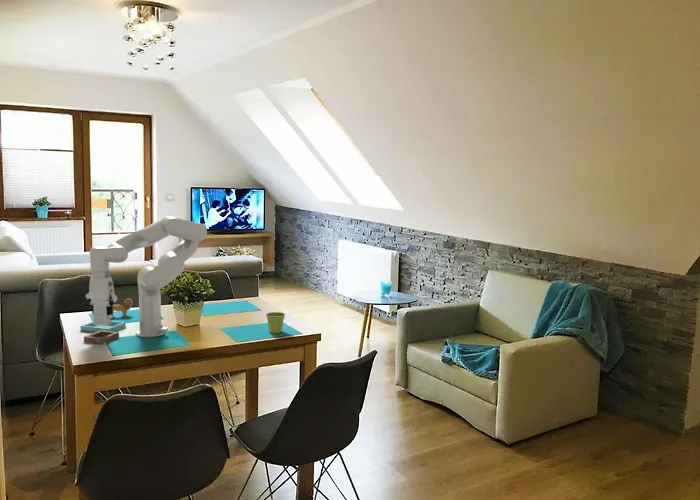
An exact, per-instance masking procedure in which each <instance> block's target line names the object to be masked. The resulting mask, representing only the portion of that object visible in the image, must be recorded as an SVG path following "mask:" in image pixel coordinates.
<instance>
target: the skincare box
mask: <svg viewBox="0 0 700 500" xmlns="http://www.w3.org/2000/svg"><path fill="white" fill-rule="evenodd" d="M93 303H94V314H93V321H94V325H103V326H107V325H109V324H110V321H111V315H107V310H106V307H107V304H106V301H104V300H100V299H95V298H94V299H93ZM109 303H110V302H109Z"/></svg>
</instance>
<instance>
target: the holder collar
mask: <svg viewBox="0 0 700 500" xmlns="http://www.w3.org/2000/svg"><path fill="white" fill-rule="evenodd" d="M119 338H120V332H119V331H115V332H111V331H103V330H101V331H98V332H95V333H91V334H87V335H84V336H83V342H84V343H87V344H96V345H104V343H105V344H107V343H110V342H112V341H114V339H115V340H117V339H119ZM109 341H110V342H109Z"/></svg>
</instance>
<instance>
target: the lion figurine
mask: <svg viewBox="0 0 700 500" xmlns="http://www.w3.org/2000/svg"><path fill="white" fill-rule="evenodd" d="M133 303H134V302H133V299H132V298H125V300H124V301H123V302H121V303H119V304H114V305H112V307H113V314H111V315H110V317H112V319H115V318H116V316H114V313H115V311H116V312H121V313H122V314H121V315H122V317H126V318H127V317H128V315H127V313H128V311H130V310H131V308H132V306H133ZM124 315H125V316H124Z"/></svg>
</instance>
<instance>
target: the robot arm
mask: <svg viewBox="0 0 700 500" xmlns="http://www.w3.org/2000/svg"><path fill="white" fill-rule="evenodd" d="M207 233H208V230H207V228H206V226H205V225H203V224H202V223H199V222H195V221H191V220H186V219H182V218H179V217H176V216H172V215H166V216H163V217H162V218H160V219H158V220H157V221H154V222H153V223H151V224H149V225H147V226H145V227H144V228H141V229H140V230H136V231H134V232H132V233H130V234H128V235H125V236H123V237H121V238H119V239H118V240H116V241H114V242H111V243H110V244H109V245H108V246H100V245H99V246H92V247H90V249H89V262H90V278H89V284H88V285H89V286H88V290H89V291H88V293H86V294H85V298H86V299H87V301H88V302H89V304H90V306H91V314H92V315H94V303H93V299H94V298H95V299H100V300H104V301H106V304H107V307H106V310H107V315H110V316H111V314H113V315H114V313H113V307H112V305H115V303H116V302H117V300H118V299H119V297H118V296H117V295H116V294H115V287H114V281H113V278H112V277H111V276H112V273H111V272H110V263H113V264H115V263H116V264H120V263H123V262H125V261H126V260H127V259H128V257H129V253H130V252H133V251H135V250H137V249H141V248H149V247H151V246H153V245H155V244H157V243H159V242H160V241H162V240H164V239H167V238H168V237H169V236H173V237H176V238H179V239H181V240H180V241H179V242H178V243H177V244H176V245H174V247H172V248H171V249H170V250H168V251H167V252H165V253H164V254H162V255H161V256H160V257H159V259H158V262H157V265H156V266H155V267H154V266H150V265H149V266H144V267H142V268H141V269H140V270H139V272H138V273H137V288H138V313H139V314H138V316H139V317H138V319H139V320H138V321H139V330H137V331H136V332H135V335H136V337H137V336H138V337H139V338H157V337H160V336H163V335H164V334H165V333H168V330H169V327H166V326H165V327H164V323H162V305H161V303H162V299H161V298H162V297H161V294H162V293H161V289H163V288H165V287H166V286H167V285H168V284H170V283H171V282H173V281H174V280H175V279H176V278H177V277H179V276H180V275H181V274H182V273H183V272H184V269H185V264H186V263H185V262H187V261H188V260H189V259H190V258H191V257H192V256H194V254H195V253H196V252H197V250H198V246H199V243H200V242H202V241H203V240H205V238H207V235H208V234H207ZM109 302H110V303H109Z"/></svg>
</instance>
